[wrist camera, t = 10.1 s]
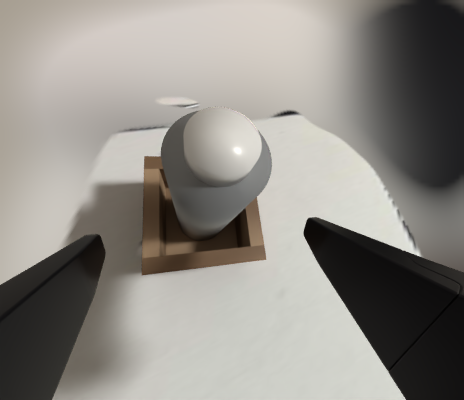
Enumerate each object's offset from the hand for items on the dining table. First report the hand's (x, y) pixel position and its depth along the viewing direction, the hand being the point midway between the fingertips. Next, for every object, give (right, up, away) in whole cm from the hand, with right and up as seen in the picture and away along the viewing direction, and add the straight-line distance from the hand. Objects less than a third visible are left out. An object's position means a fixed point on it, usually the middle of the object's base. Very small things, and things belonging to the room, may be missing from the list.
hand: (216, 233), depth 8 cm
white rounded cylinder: (-2, 0, +10) cm, 10 cm away
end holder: (-2, -1, +10) cm, 11 cm away
